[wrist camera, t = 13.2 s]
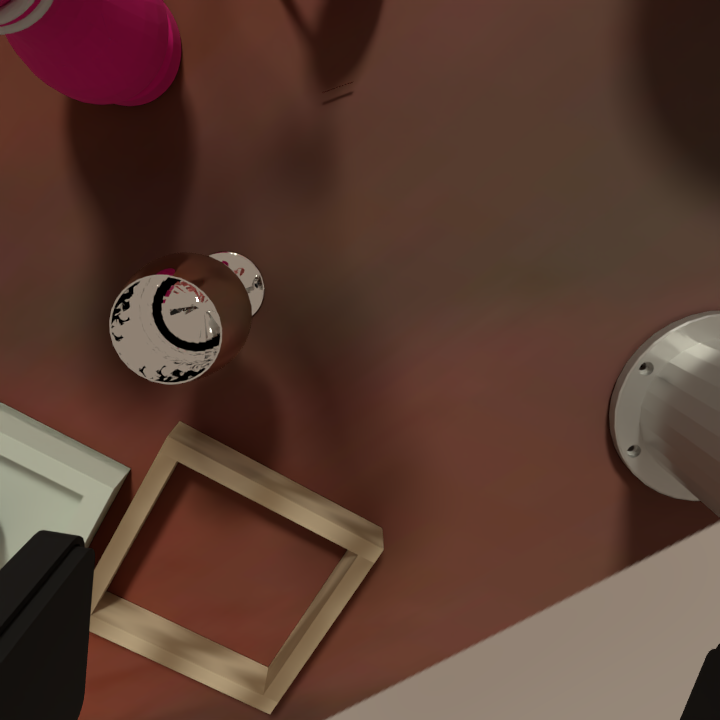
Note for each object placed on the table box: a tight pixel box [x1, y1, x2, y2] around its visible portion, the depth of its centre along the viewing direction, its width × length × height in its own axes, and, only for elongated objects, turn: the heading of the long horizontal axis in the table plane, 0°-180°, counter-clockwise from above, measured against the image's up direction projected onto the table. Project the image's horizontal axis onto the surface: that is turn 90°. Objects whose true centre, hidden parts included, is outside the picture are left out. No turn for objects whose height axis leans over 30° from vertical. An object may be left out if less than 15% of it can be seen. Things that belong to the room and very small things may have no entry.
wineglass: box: [109, 251, 265, 384], centre depth 30 cm, size 6×6×12 cm
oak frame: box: [89, 421, 384, 714], centre depth 39 cm, size 15×15×2 cm
